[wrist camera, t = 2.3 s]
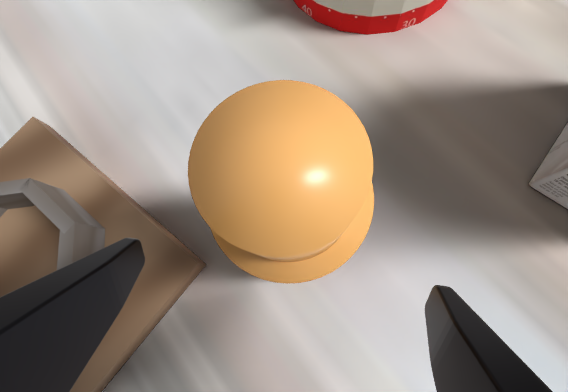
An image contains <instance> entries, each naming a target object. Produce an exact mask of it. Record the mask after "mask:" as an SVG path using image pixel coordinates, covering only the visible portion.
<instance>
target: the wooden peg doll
mask: <svg viewBox="0 0 568 392" xmlns="http://www.w3.org/2000/svg"><path fill="white" fill-rule="evenodd" d="M372 176H373V154H372V148H371V144H370V140H369V137H368V135H367V132H366V130H365V128H364V126H363V124H362V123H361V121H360V119H359V118H358V116H357V115H356V114H355V113H354V112H353V110H352V109H351V108H350V107H349V106H348V105H347V104H346V103H345V102H344V101H342V100H341V99H340V98H338V97H337V96H335V95H334V94H332V93H330V92H329V91H327V90H325V89H323V88H320V87H318V86H315V85H312V84H308V83H305V82H299V81H292V80H277V81H268V82H263V83H259V84H255V85H252V86H249V87H247V88H245V89H242V90H240V91H238V92H236V93H235V94H233V95H231V96H230V97H228V98H227V99H225V100H224V101H223V102H222V103H220V104H219V105H218V106H217V107H216V108H215V109H214V110H213V111H212V112H211V113H210V114H209V116H208V117H207V118H206V119H205V121H204V122H203V124H202V125H201V127H200V128H199V130H198V132H197V134H196V136H195V139H194V141H193V144H192V147H191V151H190V156H189V162H188V179H189V187H190V191H191V195H192V198H193V200H194V203H195V205H196V208H197V209H198V211H199V213H200V215H201V216H202V218H203V219H204V220H205V222H206V223H207V224H208V225H209V227H210V228H211V231H212V233H213V236H214V238H215V240H216V242H217V243H218V245H219V247H220V248H221V250H222V251H223V252H224V253H225V255H226V256H227V257H228V258H229V259H230V260H231V261H232V262H233V263H234V264H236V265H237V266H238V267H240V268H241V269H242V270H244V271H246V272H247V273H249V274H251V275H253V276H255V277H258V278H261V279H263V280H267V281H272V282H277V283H301V282H306V281H311V280H314V279H317V278H320V277H323V276H325V275H327V274H329V273H331V272H333V271H334V270H336V269H337V268H339V267H340V266H342V265H343V264H344V263H345V262H346V261H347V260H348V259H349V258H351V256H352V255H353V254H354V253H355V252H356V251H357V249H358V248H359V247H360V245H361V243H362V242H363V240H364V239H365V236H366V234H367V232H368V230H369V227H370V224H371V220H372V216H373V210H374V192H373V184H372Z"/></svg>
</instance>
